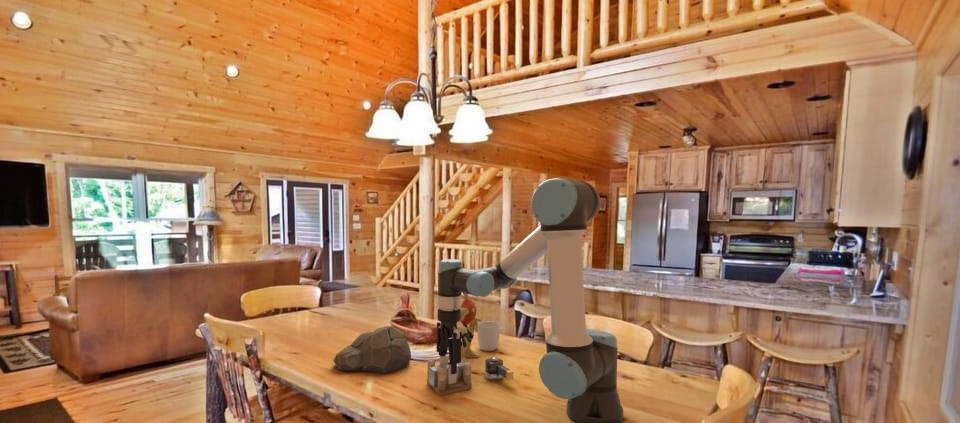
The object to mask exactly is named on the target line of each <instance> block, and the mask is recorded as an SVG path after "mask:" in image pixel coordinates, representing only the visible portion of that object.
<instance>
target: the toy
mask: <svg viewBox="0 0 960 423" xmlns="http://www.w3.org/2000/svg"><path fill="white" fill-rule="evenodd" d="M462 294H463V298H464V299H463V301H461V307H460V309H461V319H460V321H458V322H457V330H458V332H462V337H461V361H462V360H463V361H464V362H466V363H470V362H469V360H468V358H469V359H470V358H471V359H473V358H480V357H482V355H481V354H480V353H478V352H476V351H474V350H473V349H471V345H472V341H473V339H474V336H475V334H474V332H475V333H477V332H478V331H479V326H478V323H480V322H483V321H482V318H480V317H478V316H476V315H477V306H478V305H477V303H476V302H475V301H474V300H472V299H471V298H469V294H466V293H462Z"/></svg>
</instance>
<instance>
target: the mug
mask: <svg viewBox="0 0 960 423" xmlns="http://www.w3.org/2000/svg"><path fill="white" fill-rule="evenodd" d="M478 326H479V331H478V332H476V333H477V334H476V335H477V341H478V342H477V343H478V346H479V348H480V350H482V351H485V352H493V351H495V350H497V348H498V346H499V343H500V342H499V341H500V334H501V333H500V323H498V322H496V321H489V320H486V321H481V322H478Z"/></svg>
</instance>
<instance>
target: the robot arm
mask: <svg viewBox="0 0 960 423" xmlns="http://www.w3.org/2000/svg"><path fill="white" fill-rule="evenodd" d="M600 196H601V195H600V194H599V192H598V190H597V189H596V187H595V186H593V185H592V184H591V183H589V182H587V181H584V180H575V179H570V178H569V179H568V178H564V177H558V178H549V179H546V180H545V181H543V182H541V183H540V184H539V185H538V186H537V187H536V188H535V190H534V192H533V194H532V196H531V201H530V208H531V213H532V215H533V217H534V218H535V219H536V221H537V222H539V223H540V225H539V226H538V227H536V228H535V229H534V230H533V231H532V232H531V233H530V234H528V235H527V236H526V237H525V238H524V239H523V240H522V241H520V243H518V245H516V246H515V247H514V248H513V249H512V250H511V251H510V252H509V253H507V254H506V255H505V256H504V257H502V259H500V261H499V262H497V263H496V264H495V265H493V266H490V267H484V268H477V269H472V268H471V269H470V268H466V267H465V268H464V267H463V262H462V261H461V260H459V259H453V258H451V259H450V258H448V259H447V258H446V259H442V260H440V261H439V262H438V270H437V282H438V283H437V289H438V290H437V317H436V319H437V320H438V322H437V321H436V347H435V348H436V352H437V353H438V356H439V365H442V364H447V363H448V384H453V383H456V379H457V363H461V341H462V339H461V337H462V332H458V330H457V322H458V321H460V319H461V309H460V308H461V305H462V298H463V297H462V294H463V293H466V294H468V295H470V296H474V297H481V298H486V297H488V296H489V295H490V294H491V293H493V292H494V291H498V290H504V289H506V290H507V289H508V288H511V287H513V286H514V285H515V284H516V283H517V279H518V277H520V276H521V275H522V274H523V273H524V272H526V271H527V270H528V269H530V267H532V265H534V264H536V263H537V261H539V260H540V259H541V258H542V257H544V256H545V255H546V254H547V261H548V262H547V264H548V267H547V268H548V282H549V284H548V286H549V301H550V302H549V303H550V305H549V306H550V323H551V332H550V334H549V335H548V336H547V337H546V338H545V345H546V346H545V347H546V348H545V349H546V353H545V354H543V355H542V358H541V359H540V361H539V363H538V372H539V378H540V380H541V382H542V384H543V385H544V387H546V388H547V390H548V392H550V394H552V395H553V396H555V397H557V398H559V399H563V400H567V402H566V414H567V416H568V417H569V419H571V420H572V421H573V422H575V423H623V421H624V408H623V406H622V405H621V399H620V396H619V392H618V387H617V386H618V385H617V384H618V349H619V347H618V339H617V337H616V335H614V334H613V333H611V332H607V331H603V330H597V329H588V328H587V327H586V326H587V324H586V305H585V304H586V303H585V286H584V285H585V284H584V268H583V267H584V265H583V249H582V248H583V247H582V246H583V245H582V237H583V236H584V235H585V234H586V232H587V231H588V224H590V223H591V222H592V221H593V220H594V219H595V218H596V216H597V215H598V213H599V211H600V209H601V197H600Z"/></svg>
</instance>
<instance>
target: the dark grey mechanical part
mask: <svg viewBox="0 0 960 423" xmlns="http://www.w3.org/2000/svg"><path fill="white" fill-rule="evenodd" d="M484 363H485V365H484V367H485V369H484V372H485V371H486V372H488V373H492V374H497V373H498V374H499V375H501V376H503V377H504V378H505V379H506V380H507V381H511V380H514V371H513V370H512V369H510V368H508V367H507V366H504V360H502V359H501V358H498V357H497V356H491V357H490V358H487V359H485V362H484ZM504 378H503V379H504Z"/></svg>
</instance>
